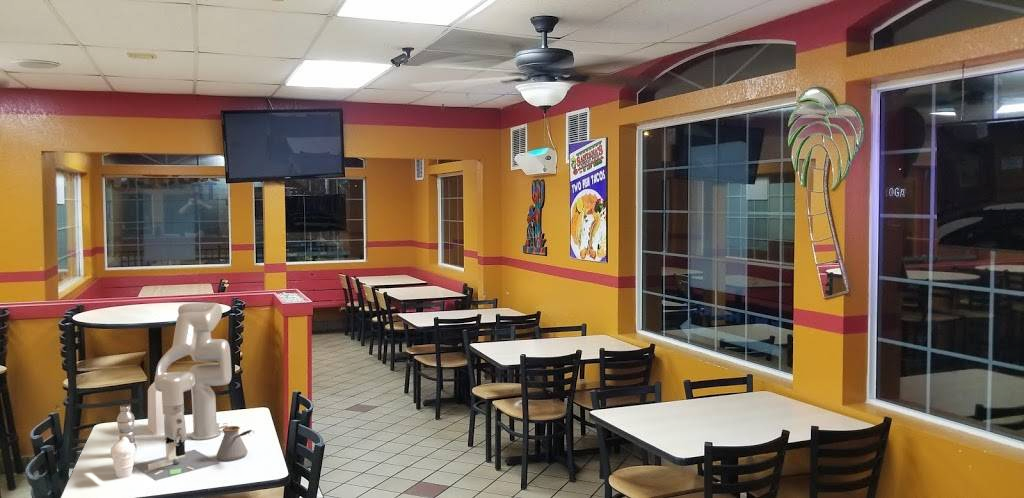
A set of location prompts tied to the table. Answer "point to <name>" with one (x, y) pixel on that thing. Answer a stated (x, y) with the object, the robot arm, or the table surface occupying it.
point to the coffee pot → (232, 445)
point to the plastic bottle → (126, 424)
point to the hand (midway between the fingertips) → (175, 452)
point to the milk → (155, 411)
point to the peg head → (169, 455)
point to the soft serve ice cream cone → (123, 457)
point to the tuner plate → (177, 465)
